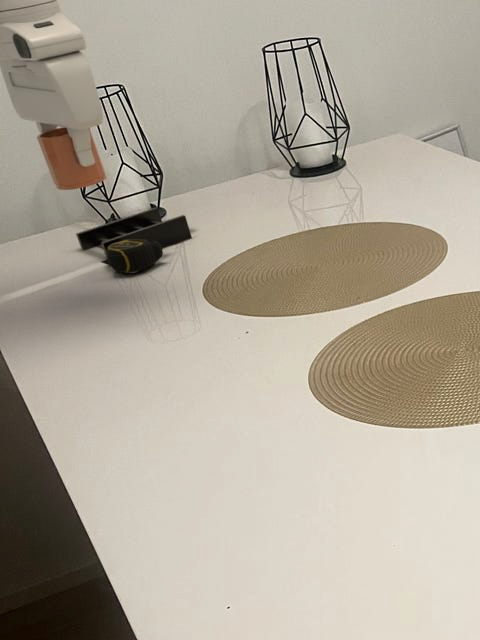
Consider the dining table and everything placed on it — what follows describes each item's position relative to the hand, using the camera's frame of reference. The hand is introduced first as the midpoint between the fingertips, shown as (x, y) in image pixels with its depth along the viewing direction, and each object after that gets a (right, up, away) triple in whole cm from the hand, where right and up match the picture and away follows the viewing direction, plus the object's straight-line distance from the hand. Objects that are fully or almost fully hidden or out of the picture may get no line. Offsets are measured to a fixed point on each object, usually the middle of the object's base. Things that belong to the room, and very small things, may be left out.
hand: (74, 162), depth 121 cm
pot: (0, -2, +2) cm, 2 cm away
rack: (-2, +1, +29) cm, 29 cm away
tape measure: (+1, -6, +20) cm, 21 cm away
